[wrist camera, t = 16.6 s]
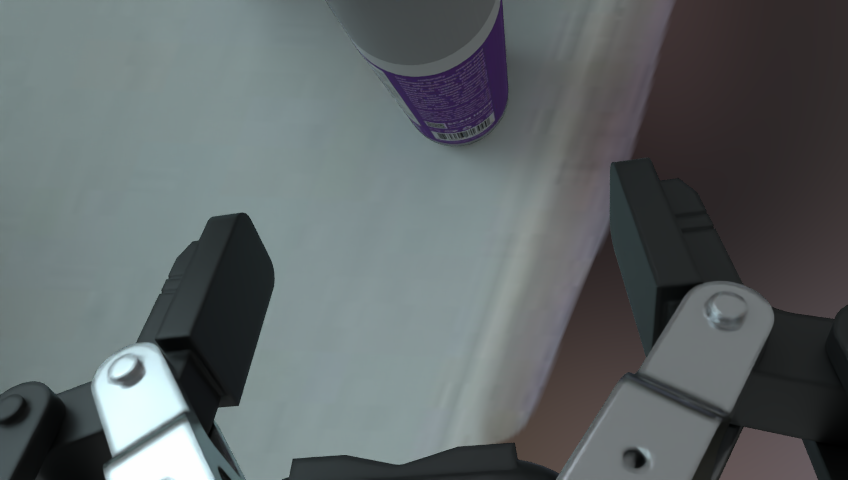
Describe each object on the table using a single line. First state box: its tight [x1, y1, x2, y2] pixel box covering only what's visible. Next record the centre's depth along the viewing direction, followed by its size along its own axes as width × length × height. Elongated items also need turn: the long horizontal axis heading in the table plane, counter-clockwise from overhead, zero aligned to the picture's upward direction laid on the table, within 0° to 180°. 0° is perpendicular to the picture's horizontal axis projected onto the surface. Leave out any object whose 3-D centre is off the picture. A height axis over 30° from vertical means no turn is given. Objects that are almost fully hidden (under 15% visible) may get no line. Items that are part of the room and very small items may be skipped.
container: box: [325, 0, 508, 146], centre depth 20 cm, size 5×5×15 cm
